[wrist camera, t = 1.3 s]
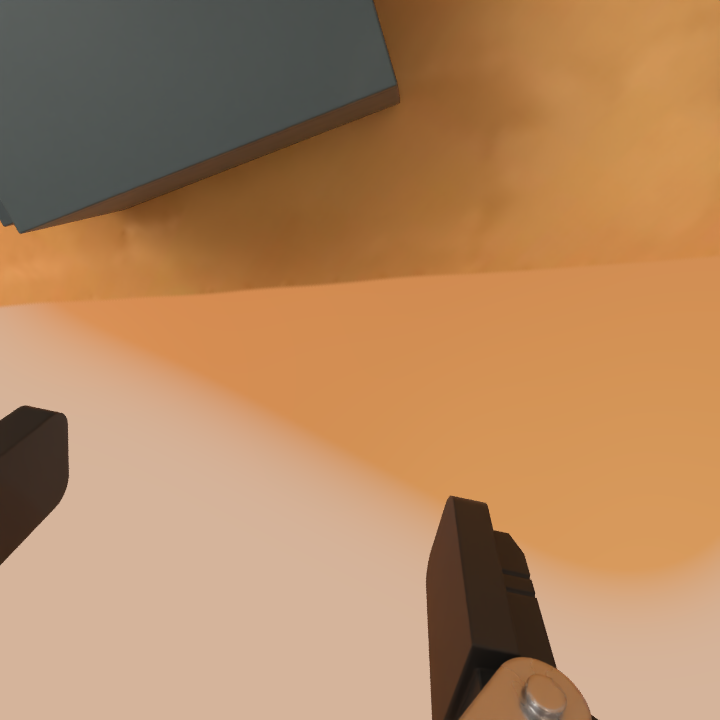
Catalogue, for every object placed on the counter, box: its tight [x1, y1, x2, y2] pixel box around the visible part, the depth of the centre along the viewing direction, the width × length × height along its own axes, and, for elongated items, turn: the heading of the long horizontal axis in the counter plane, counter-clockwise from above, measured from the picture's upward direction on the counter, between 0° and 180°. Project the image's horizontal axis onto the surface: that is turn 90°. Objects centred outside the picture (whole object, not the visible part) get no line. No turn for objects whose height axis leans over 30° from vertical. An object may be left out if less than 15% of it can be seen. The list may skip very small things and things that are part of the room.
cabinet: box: [0, 0, 400, 234], centre depth 25 cm, size 18×13×10 cm
